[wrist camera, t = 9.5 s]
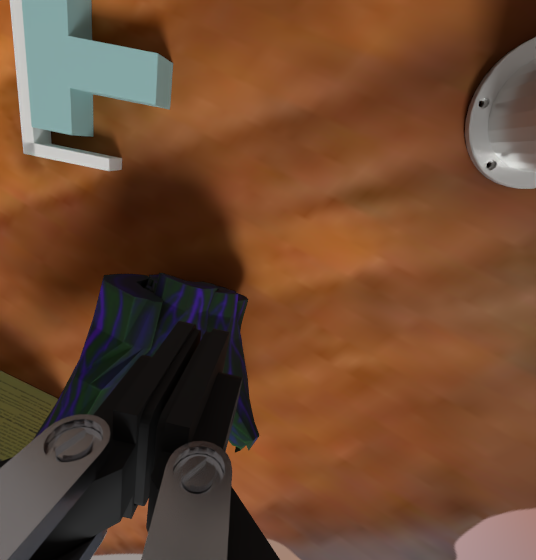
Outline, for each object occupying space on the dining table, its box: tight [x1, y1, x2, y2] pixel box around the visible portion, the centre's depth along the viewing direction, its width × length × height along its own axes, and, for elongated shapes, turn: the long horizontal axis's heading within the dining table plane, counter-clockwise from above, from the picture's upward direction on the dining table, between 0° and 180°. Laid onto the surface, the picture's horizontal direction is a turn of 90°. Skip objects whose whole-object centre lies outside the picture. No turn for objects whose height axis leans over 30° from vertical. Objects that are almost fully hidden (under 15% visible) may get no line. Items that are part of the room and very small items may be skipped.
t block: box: [22, 0, 173, 137], centre depth 31 cm, size 12×12×4 cm
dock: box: [10, 0, 122, 171], centre depth 31 cm, size 9×17×2 cm, turn 169°
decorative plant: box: [32, 273, 259, 452], centre depth 36 cm, size 21×26×30 cm
